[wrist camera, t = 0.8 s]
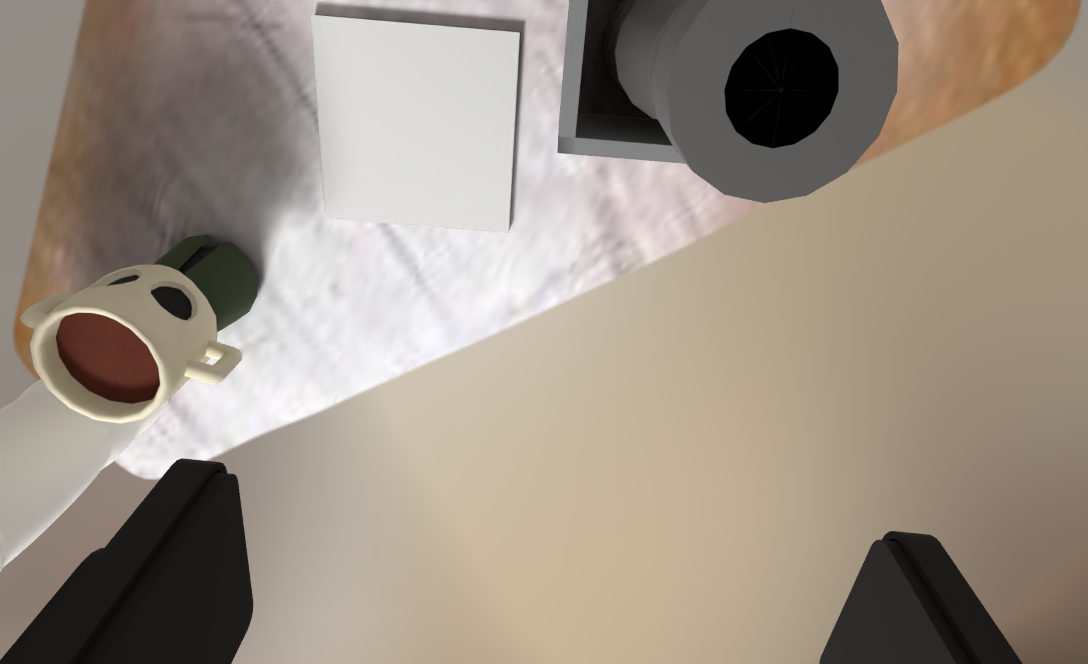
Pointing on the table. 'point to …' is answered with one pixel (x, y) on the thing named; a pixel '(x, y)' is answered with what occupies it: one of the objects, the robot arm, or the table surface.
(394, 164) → the mat
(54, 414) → the water bottle
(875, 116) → the candle holder
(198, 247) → the character mug
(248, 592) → the robot arm
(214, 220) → the table surface
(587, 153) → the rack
